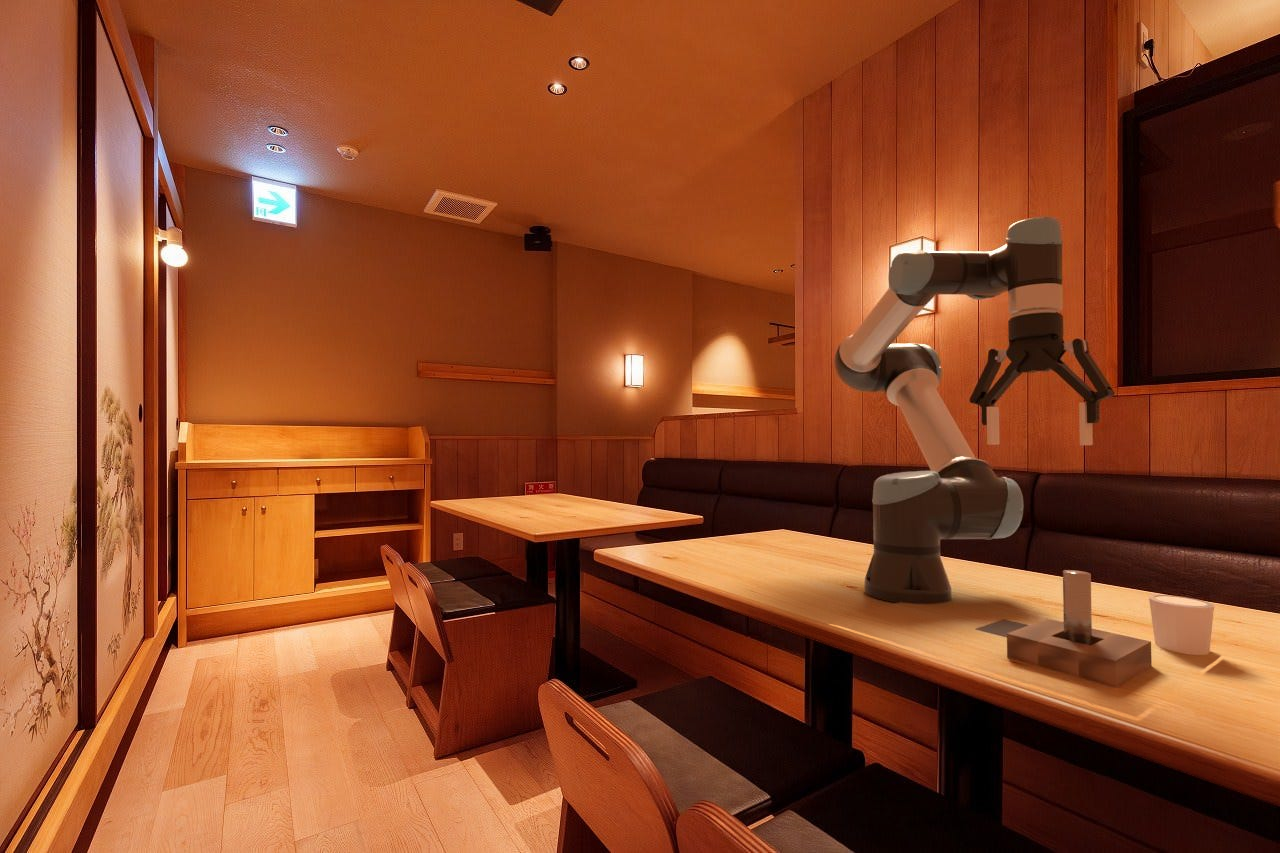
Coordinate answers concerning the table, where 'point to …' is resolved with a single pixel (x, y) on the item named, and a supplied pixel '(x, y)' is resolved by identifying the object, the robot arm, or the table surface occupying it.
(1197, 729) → the table surface
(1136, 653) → the socket block
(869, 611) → the table surface
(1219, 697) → the table surface
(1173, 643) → the white cup
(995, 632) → the coaster
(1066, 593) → the peg
